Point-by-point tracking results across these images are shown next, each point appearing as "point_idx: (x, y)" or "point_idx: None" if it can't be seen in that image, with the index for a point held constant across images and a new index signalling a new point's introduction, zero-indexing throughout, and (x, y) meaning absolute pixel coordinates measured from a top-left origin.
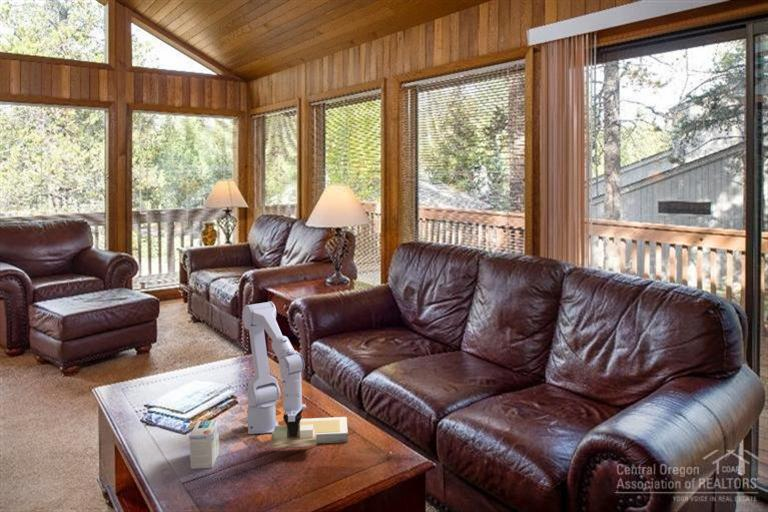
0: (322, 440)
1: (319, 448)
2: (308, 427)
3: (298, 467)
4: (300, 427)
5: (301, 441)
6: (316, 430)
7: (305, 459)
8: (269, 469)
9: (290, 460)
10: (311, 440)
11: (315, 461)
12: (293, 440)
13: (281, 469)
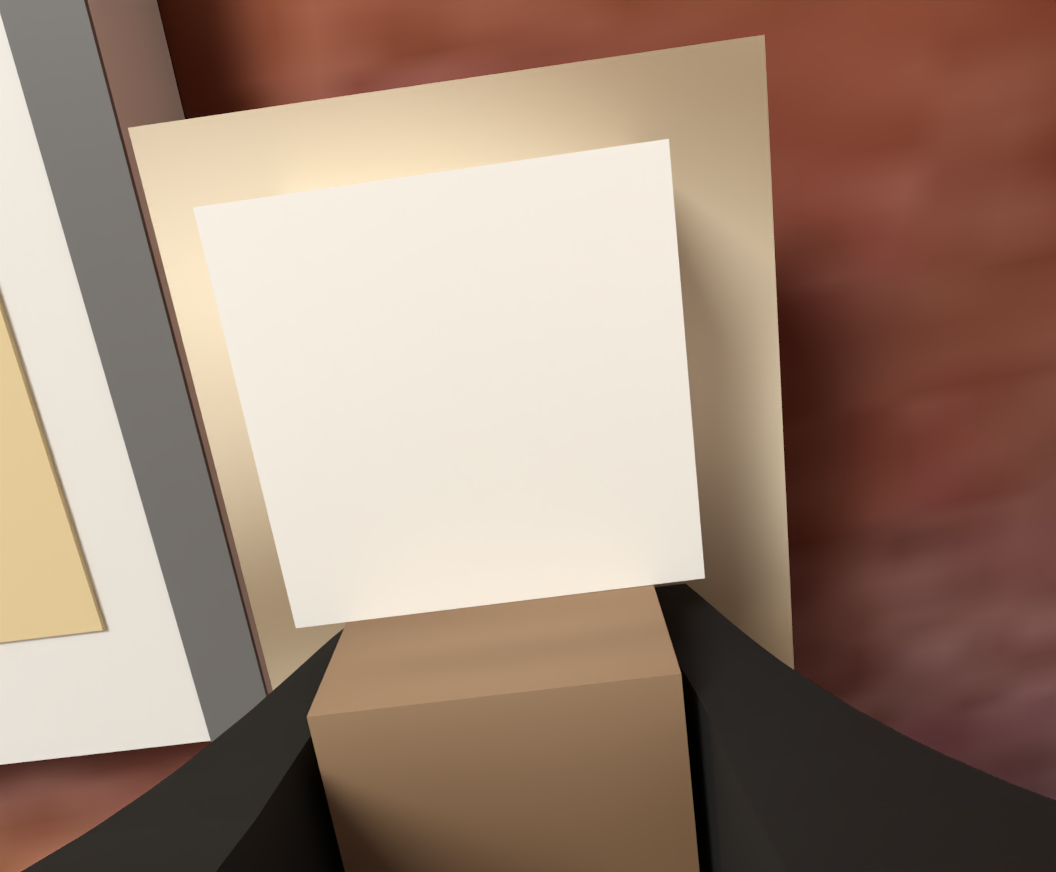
0: (143, 42)
1: (374, 83)
2: (468, 334)
3: (1031, 341)
4: (476, 594)
5: (775, 423)
6: (185, 119)
7: (776, 274)
8: (1026, 728)
9: (793, 504)
10: (762, 170)
11: (860, 79)
12: (779, 610)
13: (1053, 578)
